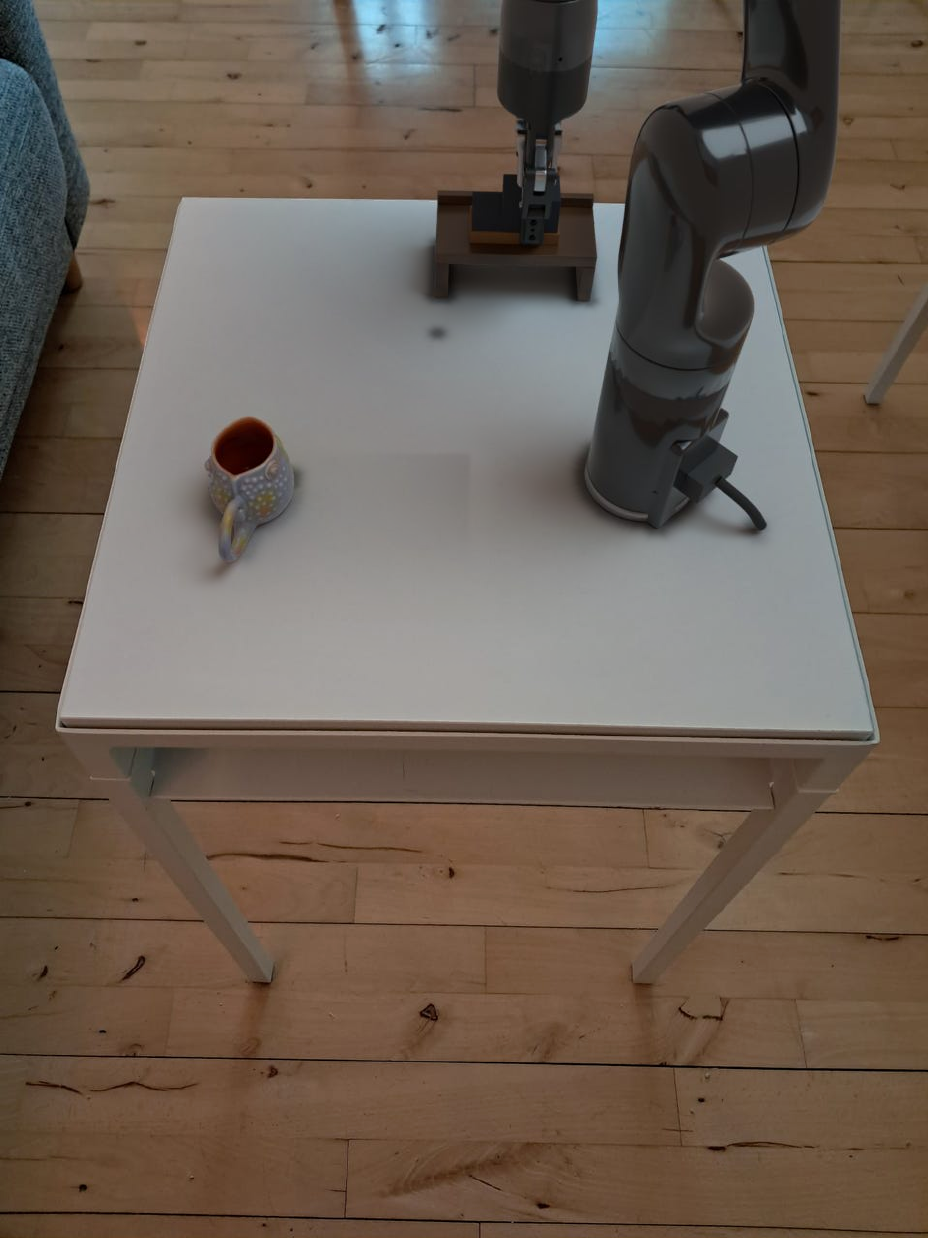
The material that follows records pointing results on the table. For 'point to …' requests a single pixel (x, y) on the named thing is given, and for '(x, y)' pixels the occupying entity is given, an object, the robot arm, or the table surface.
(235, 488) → the mug
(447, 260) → the shoe shelf
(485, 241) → the stepped blocks on board
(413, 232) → the table surface
